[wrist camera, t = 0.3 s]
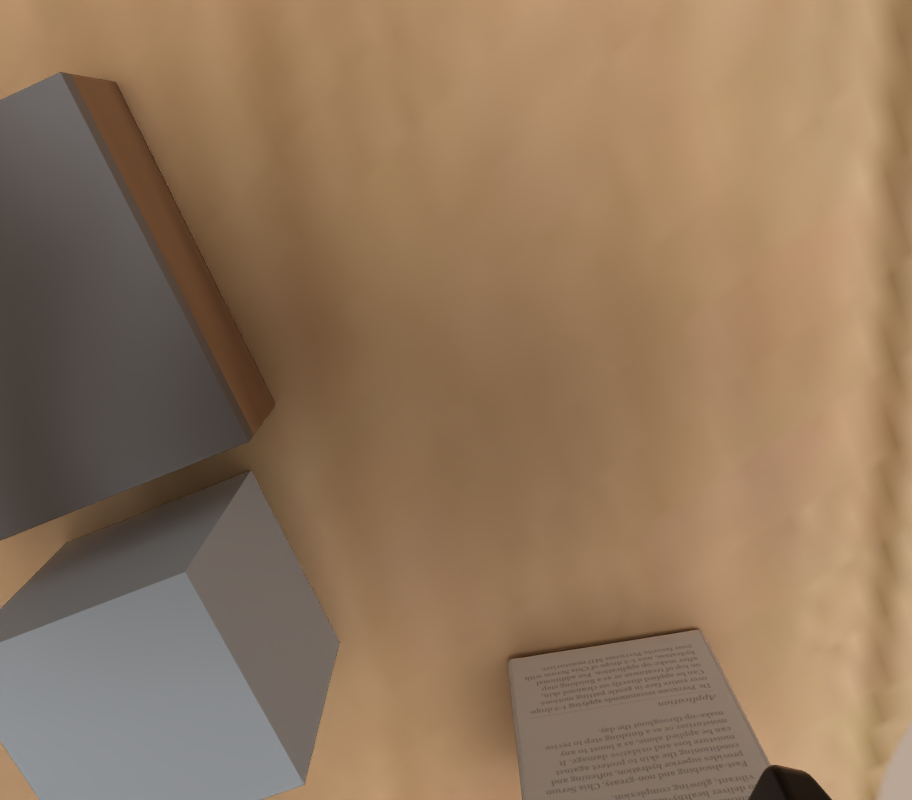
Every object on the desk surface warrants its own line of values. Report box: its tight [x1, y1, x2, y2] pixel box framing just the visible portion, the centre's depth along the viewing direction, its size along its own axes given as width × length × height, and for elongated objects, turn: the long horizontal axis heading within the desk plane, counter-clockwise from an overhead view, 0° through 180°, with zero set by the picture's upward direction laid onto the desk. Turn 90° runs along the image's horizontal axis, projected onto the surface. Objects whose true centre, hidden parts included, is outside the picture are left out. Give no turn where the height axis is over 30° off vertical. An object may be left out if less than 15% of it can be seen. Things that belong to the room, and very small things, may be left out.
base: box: [0, 72, 275, 540], centre depth 21 cm, size 9×9×3 cm
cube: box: [0, 470, 340, 800], centre depth 22 cm, size 6×6×6 cm
